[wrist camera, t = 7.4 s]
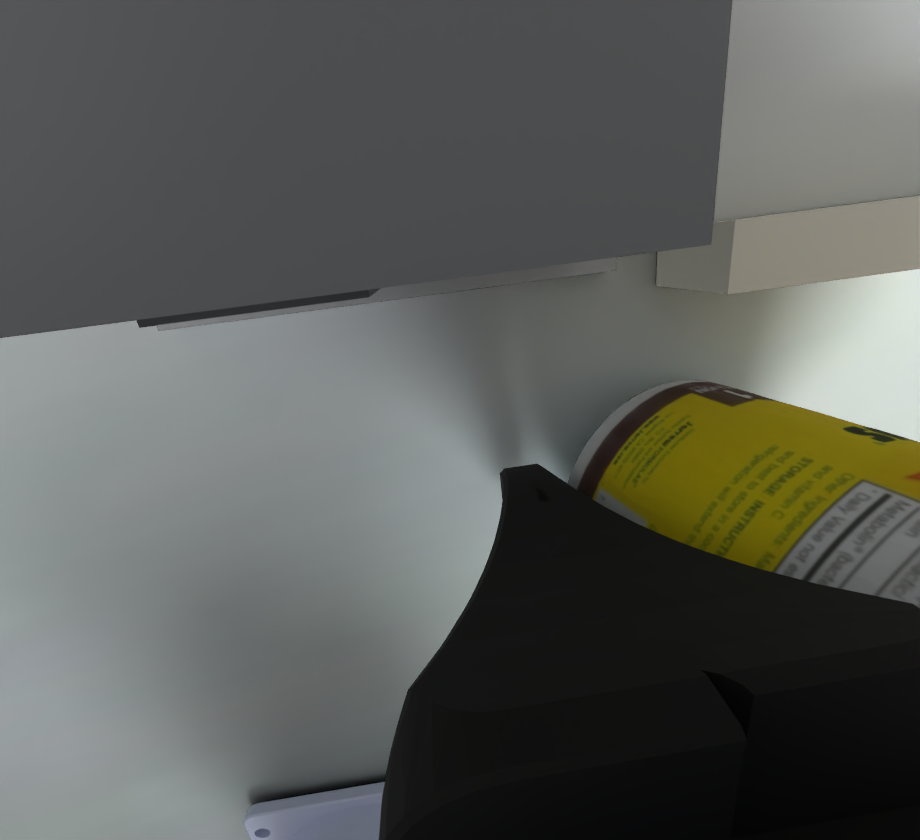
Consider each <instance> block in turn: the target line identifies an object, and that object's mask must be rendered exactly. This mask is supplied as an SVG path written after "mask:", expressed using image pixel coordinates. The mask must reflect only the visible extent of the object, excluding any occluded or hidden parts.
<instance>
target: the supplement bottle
mask: <svg viewBox="0 0 920 840" xmlns="http://www.w3.org/2000/svg"><path fill="white" fill-rule="evenodd" d="M567 484H569V485H570V486H572V487H573V488H575V489H576V490H578V491H580V492H581V493H583V494H584V495H586V496H588V497H589V498H591V499H593V500H594V501H596V502H598V503H599V504H601V505H603V506H605V507H606V508H608V509H610V510H612V511H614V512H616V513H618V514H620V515H621V516H623V517H625V518H627V519H629V520H631V521H633V522H635V523H637V524H639V525H641V526H644V527H646V528H648V529H650V530H653V531H655V532H657V533H660V534H662V535H664V536H667V537H669V538H671V539H674V540H676V541H679V542H681V543H684V544H686V545H689V546H692V547H694V548H697V549H700V550H703V551H706V552H709V553H712V554H715V555H718V556H721V557H723V558H726V559H729V560H732V561H736V562H739V563H742V564H746V565H749V566H752V567H756V568H759V569H763V570H766V571H770V572H774V573H778V574H781V575H785V576H789V577H793V578H797V579H800V580H804V581H808V582H812V583H816V584H821V585H826V586H830V587H835V588H840V589H845V590H850V591H855V592H859V593H864V594H869V595H874V596H879V597H884V598H888V599H893V600H898V601H903V602H908V603H912V604H914V605H916V606H917V607H919V608H920V442H917V441H913V440H910V439H907V438H904V437H901V436H897V435H894V434H890V433H887V432H884V431H880V430H877V429H873V428H869V427H865V426H861V425H858V424H855V423H852V422H848V421H845V420H842V419H838V418H835V417H832V416H828V415H825V414H822V413H818V412H815V411H811V410H808V409H804V408H801V407H797V406H794V405H790V404H786V403H783V402H779V401H776V400H772V399H769V398H766V397H762V396H759V395H756V394H753V393H749V392H746V391H742V390H739V389H735V388H731V387H728V386H724V385H720V384H716V383H712V382H708V381H700V380H682V381H673V382H669V383H665V384H661V385H658V386H655V387H653V388H651V389H648V390H646V391H644V392H642V393H640V394H638V395H636V396H635V397H633V398H632V399H630V400H629V401H627V402H626V403H624V404H623V405H622V406H620V407H619V408H618V409H617V410H615V411H614V412H613V413H612V414H611V415H610V416H609V417H608V418H607V419H606V420H605V421H604V422H603V423H602V424H601V425H600V426H599V428H598V429H597V430H596V431H595V432H594V434H593V435H592V436H591V438H590V439H589V441H588V442H587V443H586V445H585V447H584V448H583V450H582V452H581V453H580V455H579V457H578V459H577V461H576V463H575V465H574V467H573V470H572V472H571V475H570V478H569V480H568V483H567Z"/></svg>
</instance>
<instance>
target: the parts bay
mask: <svg viewBox="0 0 920 840" xmlns="http://www.w3.org/2000/svg"><path fill="white" fill-rule="evenodd" d="M914 269H920V195H919V196H911V197H904V198H896V199H888V200H880V201H873V202H865V203H857V204H849V205H842V206H834V207H826V208H818V209H811V210H803V211H795V212H788V213H780V214H772V215H764V216H757V217H749V218H741V219H733V220H726V221H718V222H713V231H712V243H711V245H706V246H698V247H690V248H683V249H675V250H667V251H660V252H658V254H657V277H656V286H663V287H671V288H679V289H686V290H694V291H702V292H710V293H718V294H726V295H729V294H736V293H744V292H751V291H759V290H766V289H773V288H781V287H788V286H796V285H803V284H810V283H818V282H825V281H833V280H840V279H847V278H855V277H862V276H870V275H877V274H884V273H892V272H899V271H907V270H914Z"/></svg>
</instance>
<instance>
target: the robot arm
mask: <svg viewBox="0 0 920 840" xmlns="http://www.w3.org/2000/svg"><path fill="white" fill-rule="evenodd" d="M500 480H501V490H502V499H503V502H502V509H501V516H500V521H499V525H498V529H497V533H496V537H495V540H494V544H493V547H492V550H491V553H490V556H489V558H488V561H487V563H486V566H485V569H484V571H483V573H482V575H481V577H480V580H479V582H478V584H477V586H476V588H475V590H474V592H473V594H472V596H471V598H470V600H469V602H468V604H467V606H466V607H465V609H464V611H463V612H462V614H461V616H460V617H459V619H458V621H457V622H456V624H455V625H454V627H453V629H452V630H451V632H450V634H449V635H448V637H447V638H446V640H445V641H444V643H443V644H442V646H441V647H440V649H439V650H438V651H437V653H436V654H435V655H434V656H433V658H432V659H431V660H430V662H429V663H428V664H427V666H426V667H425V668H424V670H423V671H422V672H421V674H420V675H419V676H418V678H417V679H416V680H415V682H414V683H413V684H412V685H411V687H410V688H409V689H408V692H407V695H406V698H405V701H404V705H403V708H402V711H401V715H400V718H399V721H398V725H397V729H396V732H395V736H394V740H393V744H392V748H391V752H390V757H389V762H388V767H387V772H386V778H385V782H380V783H374V784H368V785H362V786H356V787H350V788H344V789H338V790H332V791H326V792H320V793H315V794H309V795H303V796H297V797H291V798H285V799H279V800H273V801H267V802H261V803H257V804H254V805H252V806H251V807H249V808H248V810H247V813H246V816H245V819H244V826H245V828H246V830H247V832H248V834H249V836H250V838H251V840H920V608H919V607H917V606H916V605H914V604H912V603H908V602H903V601H898V600H893V599H888V598H884V597H879V596H874V595H869V594H864V593H859V592H855V591H850V590H845V589H840V588H835V587H830V586H826V585H821V584H816V583H812V582H808V581H804V580H800V579H797V578H793V577H789V576H785V575H781V574H778V573H774V572H770V571H766V570H763V569H759V568H756V567H752V566H749V565H746V564H742V563H739V562H736V561H732V560H729V559H726V558H723V557H721V556H718V555H715V554H712V553H709V552H706V551H703V550H700V549H697V548H694V547H692V546H689V545H686V544H684V543H681V542H679V541H676V540H674V539H671V538H669V537H667V536H664V535H662V534H660V533H657V532H655V531H653V530H650V529H648V528H646V527H644V526H641V525H639V524H637V523H635V522H633V521H631V520H629V519H627V518H625V517H623V516H621V515H620V514H618V513H616V512H614V511H612V510H610V509H608V508H606V507H605V506H603V505H601V504H599V503H598V502H596V501H594V500H593V499H591V498H589V497H588V496H586V495H584V494H583V493H581V492H580V491H578V490H576V489H575V488H573V487H572V486H570V485H569V484H567V483H566V482H564V481H563V480H561V479H560V478H558V477H557V476H555V475H554V474H552V473H551V472H549V471H548V470H546V469H545V468H543V467H542V466H540V465H538V464H532V465H525V466H519V467H512V468H505V469H504V470H503V471H502V472H501V473H500Z"/></svg>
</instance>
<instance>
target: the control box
mask: <svg viewBox="0 0 920 840" xmlns="http://www.w3.org/2000/svg"><path fill="white" fill-rule="evenodd" d="M731 8H732V0H0V338H4V337H11V336H19V335H27V334H34V333H42V332H50V331H57V330H65V329H72V328H80V327H88V326H95V325H103V324H111V323H118V322H126V321H133V320H137V323H138V325H139V328H140V327H148V326H155V325H156V326H157V328H158V331H162V330H169V329H177V328H184V327H192V326H199V325H207V324H215V323H222V322H230V321H237V320H245V319H252V318H260V317H268V316H275V315H283V314H290V313H298V312H305V311H313V310H321V309H328V308H336V307H343V306H351V305H358V304H366V303H374V302H381V301H389V300H396V299H404V298H411V297H419V296H427V295H434V294H442V293H449V292H457V291H464V290H472V289H479V288H487V287H495V286H502V285H510V284H517V283H525V282H532V281H540V280H548V279H555V278H563V277H570V276H578V275H585V274H593V273H601V272H608V271H616V257H622V256H629V255H637V254H645V253H652V252H660V251H667V250H675V249H683V248H690V247H698V246H706V245H711V243H712V231H713V220H714V208H715V196H716V184H717V173H718V161H719V149H720V137H721V126H722V114H723V102H724V90H725V79H726V67H727V55H728V44H729V32H730V20H731Z"/></svg>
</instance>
